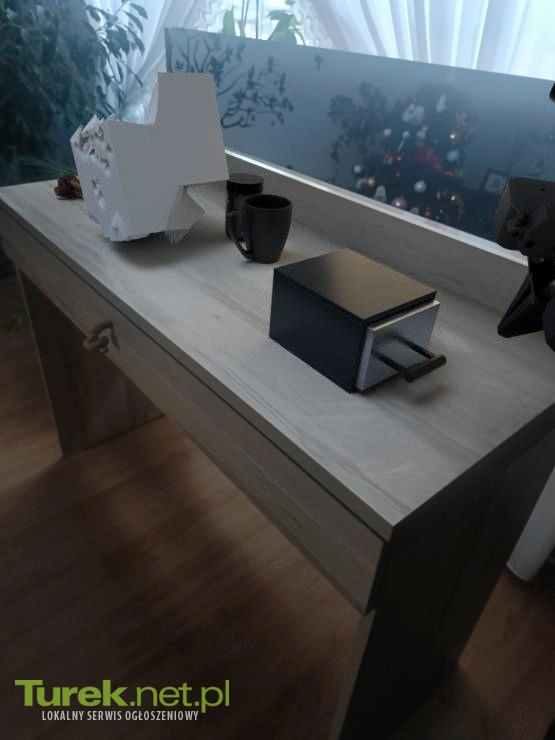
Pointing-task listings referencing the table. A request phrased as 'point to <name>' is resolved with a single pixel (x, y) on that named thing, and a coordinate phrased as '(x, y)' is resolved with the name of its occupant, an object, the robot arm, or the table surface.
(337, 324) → the cabinet
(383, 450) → the table surface
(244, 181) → the supplement container
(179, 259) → the table surface
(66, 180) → the brown lumpy mound
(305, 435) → the table surface
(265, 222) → the mug
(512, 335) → the robot arm
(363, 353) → the drawer
